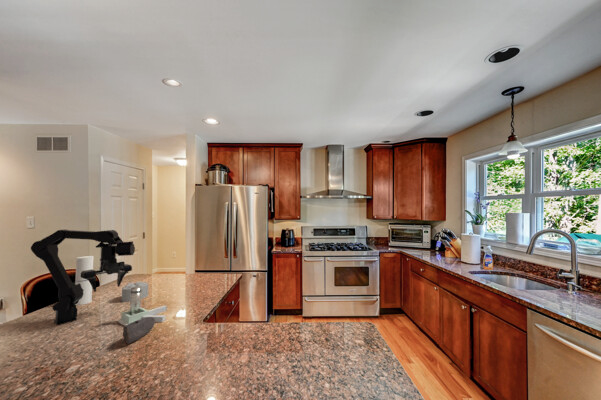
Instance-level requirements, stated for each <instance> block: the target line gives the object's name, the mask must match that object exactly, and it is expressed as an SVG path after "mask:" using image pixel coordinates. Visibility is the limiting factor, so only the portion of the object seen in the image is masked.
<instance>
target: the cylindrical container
mask: <svg viewBox="0 0 601 400" xmlns="http://www.w3.org/2000/svg"><path fill="white" fill-rule="evenodd" d="M94 258H95V257H94V255H87V256H86V255H85V256H77V257H76V259H75V260H76V262H75V264H76V265H75V282H74V284H75V285H77V284H80V285H81V288H82V289H83V290H84V291H83V297H82V298H81V299H80V300H79V301H78V303H77V304H75V305H76V306H83V305H86V304H89V303H90V304H91V303H92V300H93V299H92V298H93V297H92V296H93V288H92V286H91V284H90V282H89V281H88V280H87V279H84V278H81V272H82V271H86V270H94Z"/></svg>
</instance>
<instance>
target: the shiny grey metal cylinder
mask: <svg viewBox="0 0 601 400" xmlns="http://www.w3.org/2000/svg"><path fill="white" fill-rule="evenodd" d="M141 300H142V299H141V287H140V286H137V287H132V288H131V299H130V302H129V311H130V316H131V315H135V314H138V313H140V307H141V305H142V304H141V303H142V301H141Z"/></svg>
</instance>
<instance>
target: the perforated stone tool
mask: <svg viewBox="0 0 601 400" xmlns="http://www.w3.org/2000/svg"><path fill="white" fill-rule="evenodd" d="M155 323H156V322H155V319H154V318H153V317H146V318H143V319H140V320H137V321H134V322H132V323H130V324H128V325H126V326H124V325H123V327H122V331H123V332H122V337H123V338H124V339H123V342H124V343H126V344H128V345H129V344H131V343H134V342H137V341H138V340H139V339H142V337H144V336H145V335H147V334H148V333H150V332H151V330H152V329H153V328H154V326H155Z"/></svg>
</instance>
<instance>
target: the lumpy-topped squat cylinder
mask: <svg viewBox="0 0 601 400" xmlns="http://www.w3.org/2000/svg"><path fill="white" fill-rule="evenodd" d="M137 286H140V287H141V300H143V299H144V298H146V297H148V296H149V283H148V282H146V281H140V280H139V281H135V282H133V281H132V282H128V283H127V284H126V285H124V286H122V288H121V302H122V303H130V299H131V288H132V287H137Z"/></svg>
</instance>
